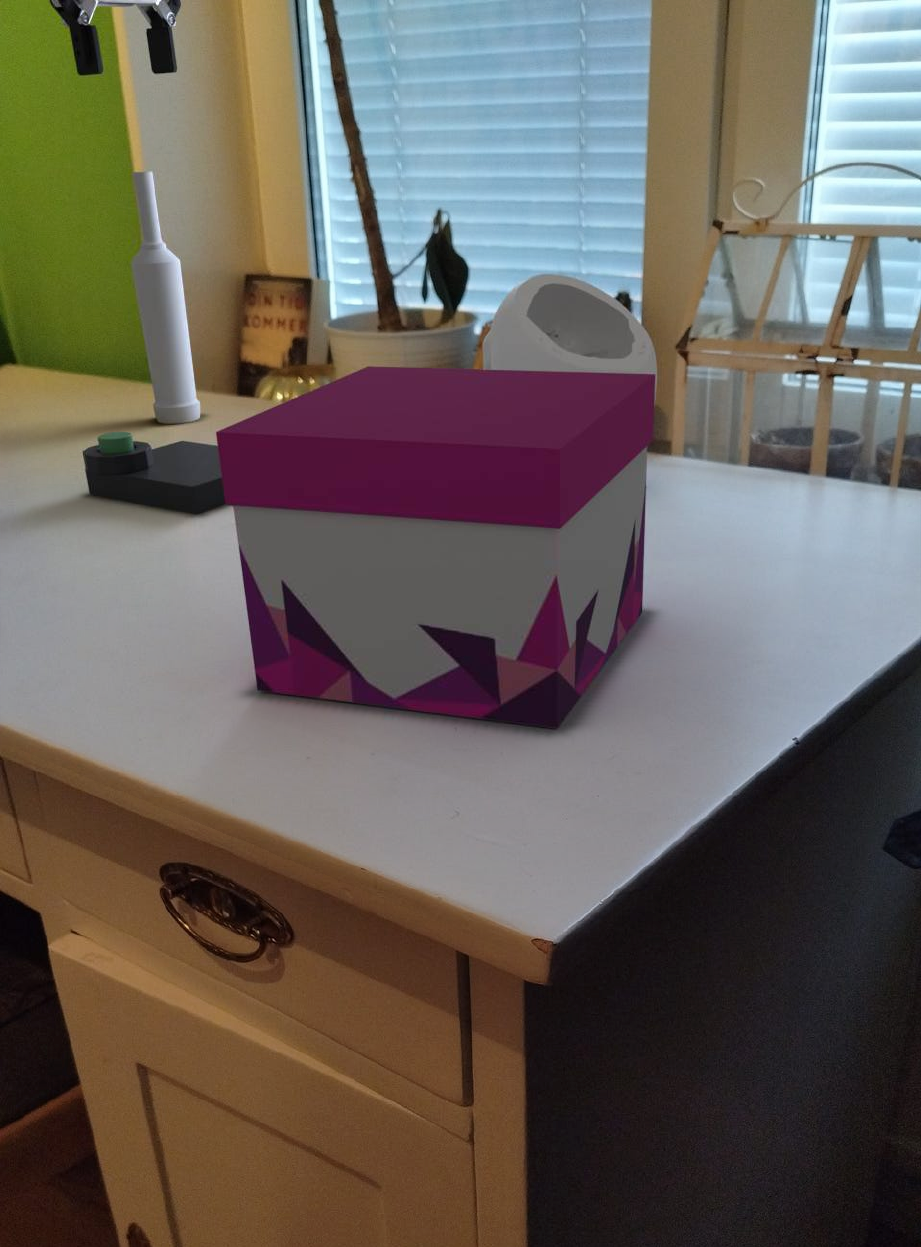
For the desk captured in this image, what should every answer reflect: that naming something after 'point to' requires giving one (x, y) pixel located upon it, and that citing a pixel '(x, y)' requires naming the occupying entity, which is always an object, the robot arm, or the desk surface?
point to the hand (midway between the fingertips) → (128, 74)
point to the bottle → (163, 314)
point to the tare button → (115, 442)
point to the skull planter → (563, 305)
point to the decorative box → (443, 536)
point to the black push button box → (159, 476)
